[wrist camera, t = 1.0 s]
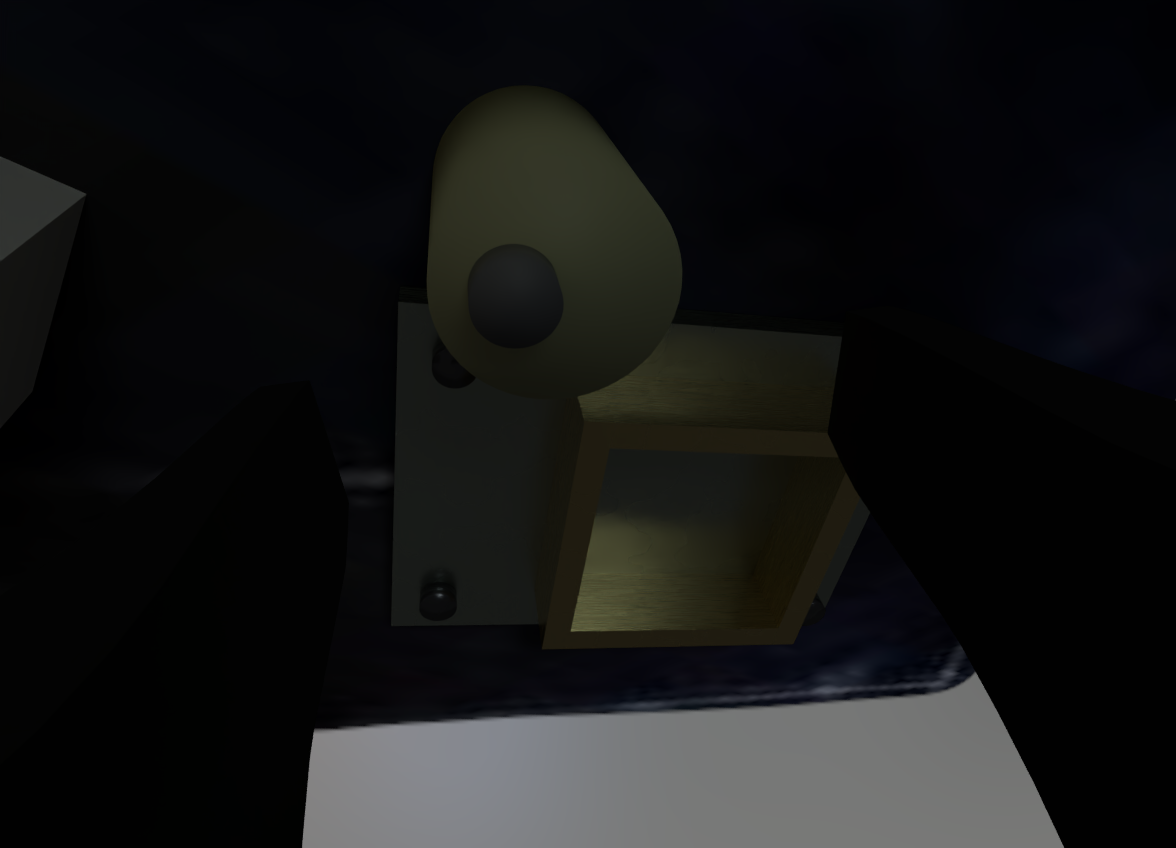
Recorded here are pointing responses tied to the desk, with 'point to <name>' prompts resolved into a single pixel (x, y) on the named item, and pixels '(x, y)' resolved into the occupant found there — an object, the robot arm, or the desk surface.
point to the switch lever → (545, 249)
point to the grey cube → (30, 272)
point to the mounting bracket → (626, 490)
